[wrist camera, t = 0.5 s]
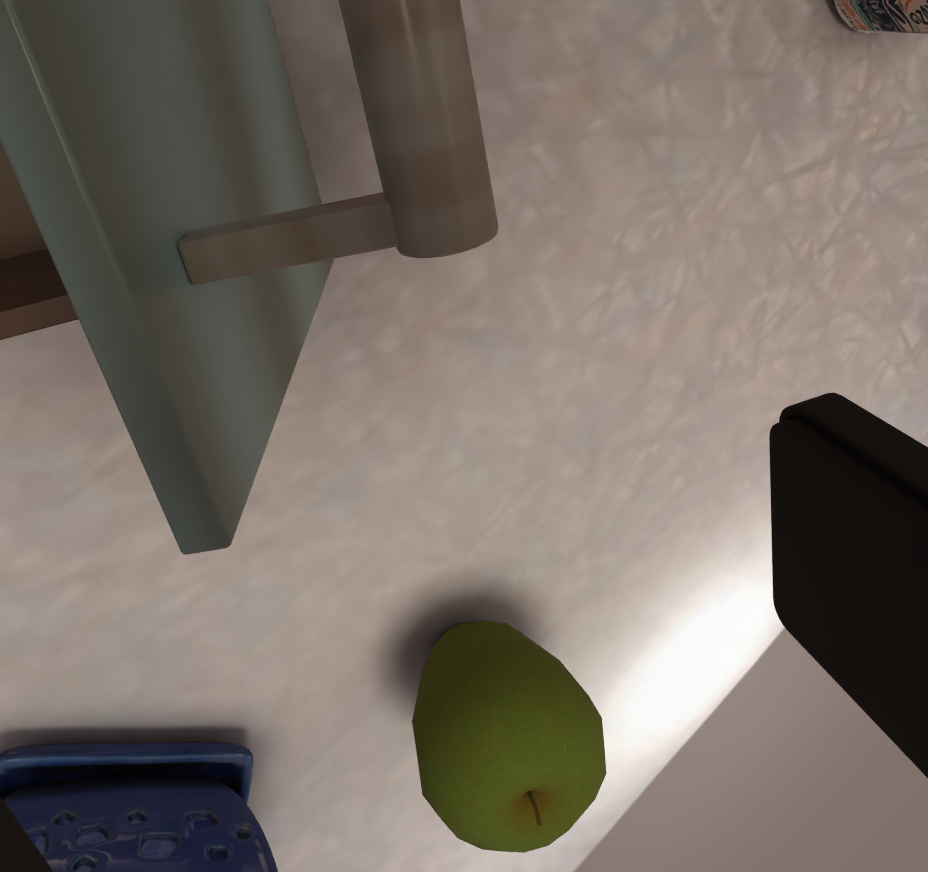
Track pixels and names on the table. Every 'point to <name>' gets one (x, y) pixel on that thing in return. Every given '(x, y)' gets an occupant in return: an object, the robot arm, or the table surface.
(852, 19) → the beer can
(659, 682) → the table surface
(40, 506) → the table surface
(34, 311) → the chest
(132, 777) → the flower pot
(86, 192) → the lid
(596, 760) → the apple
